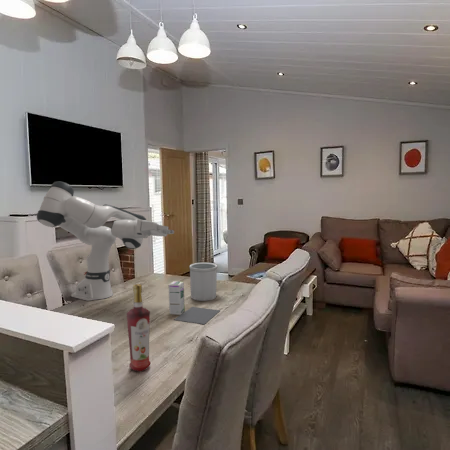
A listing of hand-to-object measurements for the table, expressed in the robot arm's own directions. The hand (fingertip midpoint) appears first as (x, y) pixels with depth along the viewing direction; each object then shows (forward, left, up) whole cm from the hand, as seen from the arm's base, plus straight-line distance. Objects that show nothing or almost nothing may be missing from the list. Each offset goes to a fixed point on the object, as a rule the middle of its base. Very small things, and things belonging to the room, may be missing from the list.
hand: (171, 230), depth 170 cm
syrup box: (+5, -5, -39) cm, 40 cm away
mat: (+16, -5, -39) cm, 42 cm away
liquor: (+19, -55, -39) cm, 70 cm away
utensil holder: (+7, +21, -39) cm, 45 cm away
